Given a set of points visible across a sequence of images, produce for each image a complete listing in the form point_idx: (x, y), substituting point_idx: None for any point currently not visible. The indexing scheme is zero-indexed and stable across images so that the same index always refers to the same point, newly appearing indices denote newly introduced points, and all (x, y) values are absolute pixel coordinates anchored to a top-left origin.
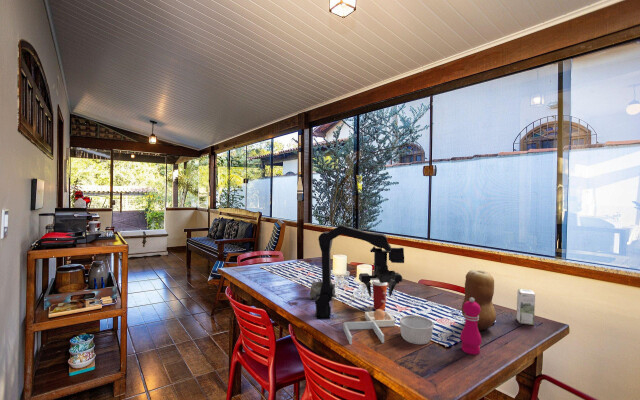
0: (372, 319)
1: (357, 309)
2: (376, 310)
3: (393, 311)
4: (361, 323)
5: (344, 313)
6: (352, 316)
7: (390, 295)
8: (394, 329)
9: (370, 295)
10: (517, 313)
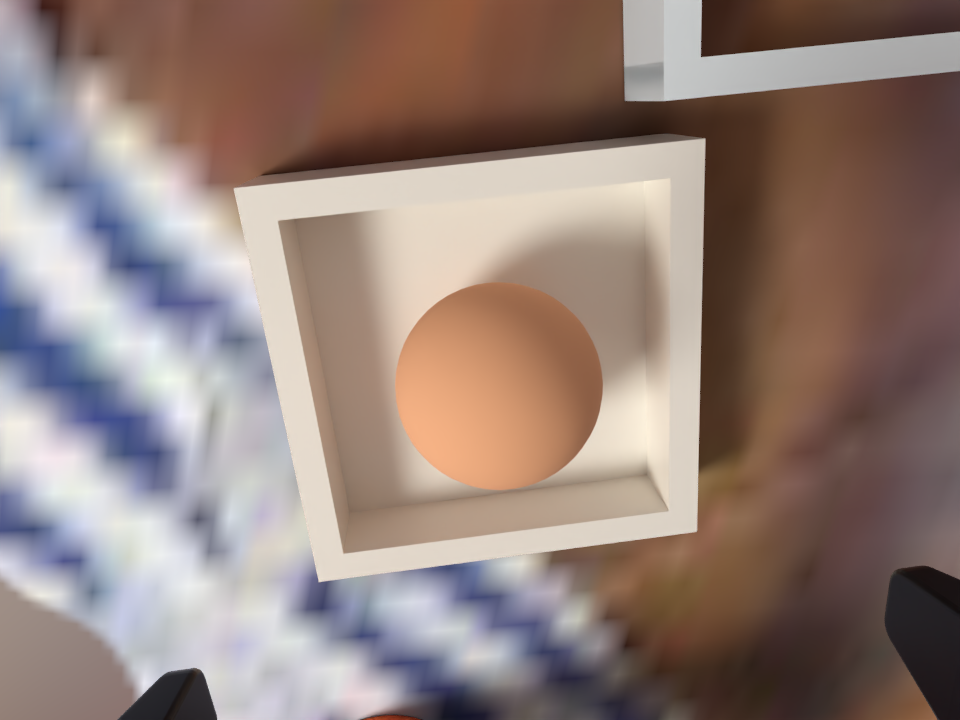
0: None
1: (695, 715)
2: (571, 416)
3: None
4: (912, 37)
5: None
6: (831, 504)
7: (167, 687)
8: (281, 38)
9: (950, 591)
10: None
